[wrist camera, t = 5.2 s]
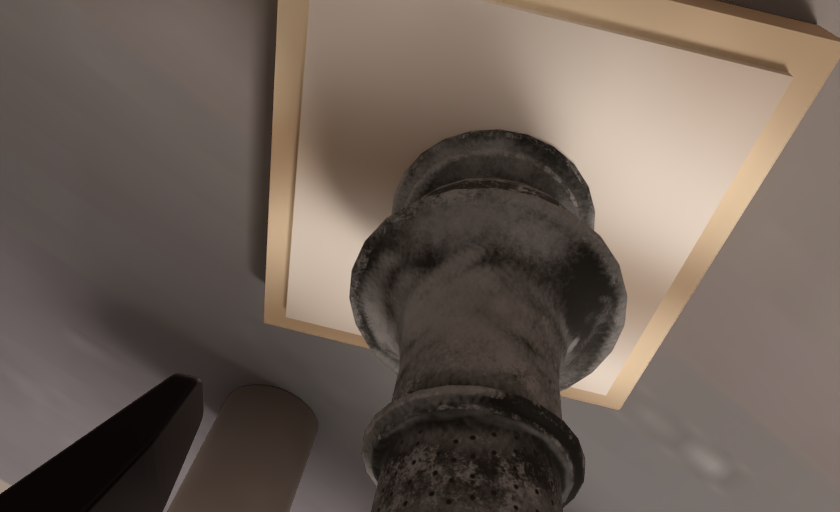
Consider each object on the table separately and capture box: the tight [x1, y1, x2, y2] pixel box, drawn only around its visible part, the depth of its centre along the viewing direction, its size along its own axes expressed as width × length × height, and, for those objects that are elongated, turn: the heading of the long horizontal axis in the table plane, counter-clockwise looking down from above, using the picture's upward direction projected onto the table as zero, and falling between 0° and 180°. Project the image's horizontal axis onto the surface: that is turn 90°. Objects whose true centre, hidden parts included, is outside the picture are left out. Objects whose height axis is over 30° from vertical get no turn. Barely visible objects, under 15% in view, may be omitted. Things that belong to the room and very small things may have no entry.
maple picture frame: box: [264, 0, 840, 410], centre depth 16 cm, size 12×12×2 cm
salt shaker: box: [349, 129, 627, 512], centre depth 10 cm, size 6×6×12 cm
